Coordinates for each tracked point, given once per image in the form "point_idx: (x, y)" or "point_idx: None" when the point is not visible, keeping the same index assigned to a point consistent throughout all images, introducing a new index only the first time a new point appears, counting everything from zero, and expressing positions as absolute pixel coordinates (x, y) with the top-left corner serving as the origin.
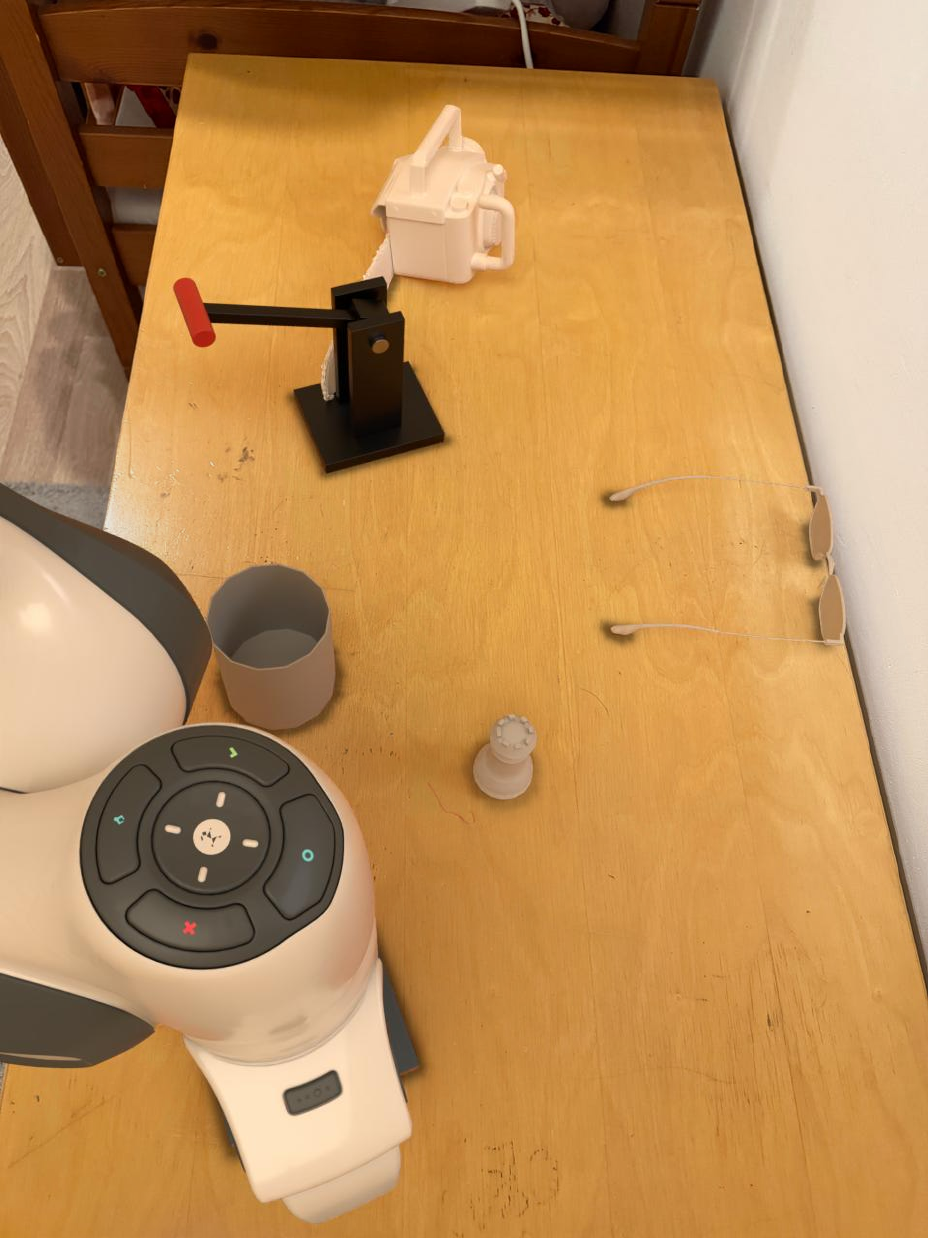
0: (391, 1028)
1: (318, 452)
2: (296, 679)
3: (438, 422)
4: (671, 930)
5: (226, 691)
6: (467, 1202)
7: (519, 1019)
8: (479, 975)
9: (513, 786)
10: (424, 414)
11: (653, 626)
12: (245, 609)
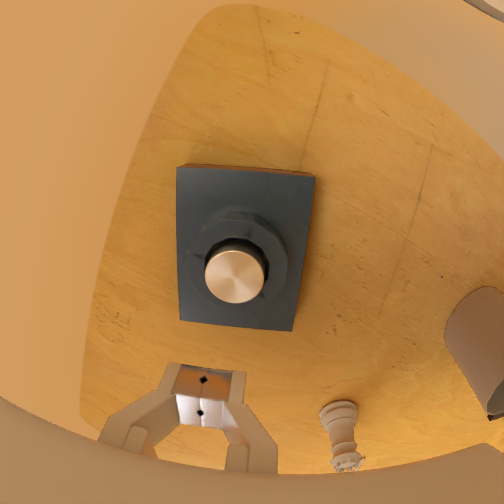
0: (212, 315)
1: None
2: (480, 375)
3: (494, 419)
4: (209, 431)
5: (497, 299)
6: (106, 294)
7: (193, 365)
8: (228, 360)
9: (324, 422)
10: (501, 414)
11: None
12: None
